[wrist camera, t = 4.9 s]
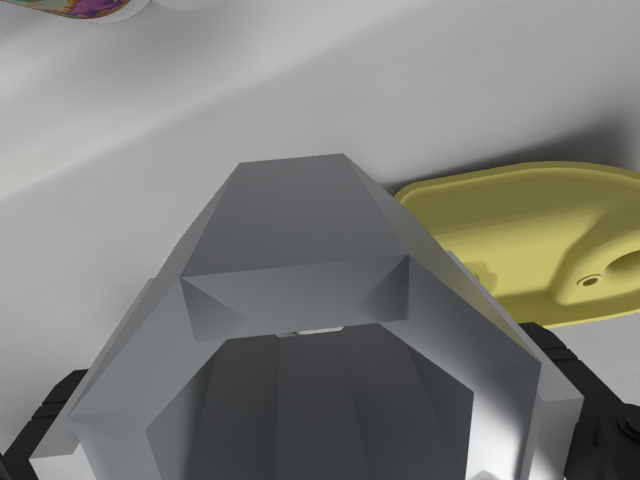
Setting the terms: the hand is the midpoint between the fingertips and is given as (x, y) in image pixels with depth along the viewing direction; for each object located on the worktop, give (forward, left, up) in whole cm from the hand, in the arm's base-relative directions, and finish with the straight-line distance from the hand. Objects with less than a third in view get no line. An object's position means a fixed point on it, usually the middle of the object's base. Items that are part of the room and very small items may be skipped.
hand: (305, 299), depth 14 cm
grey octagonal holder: (0, +1, -2) cm, 2 cm away
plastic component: (-16, +6, -15) cm, 23 cm away
